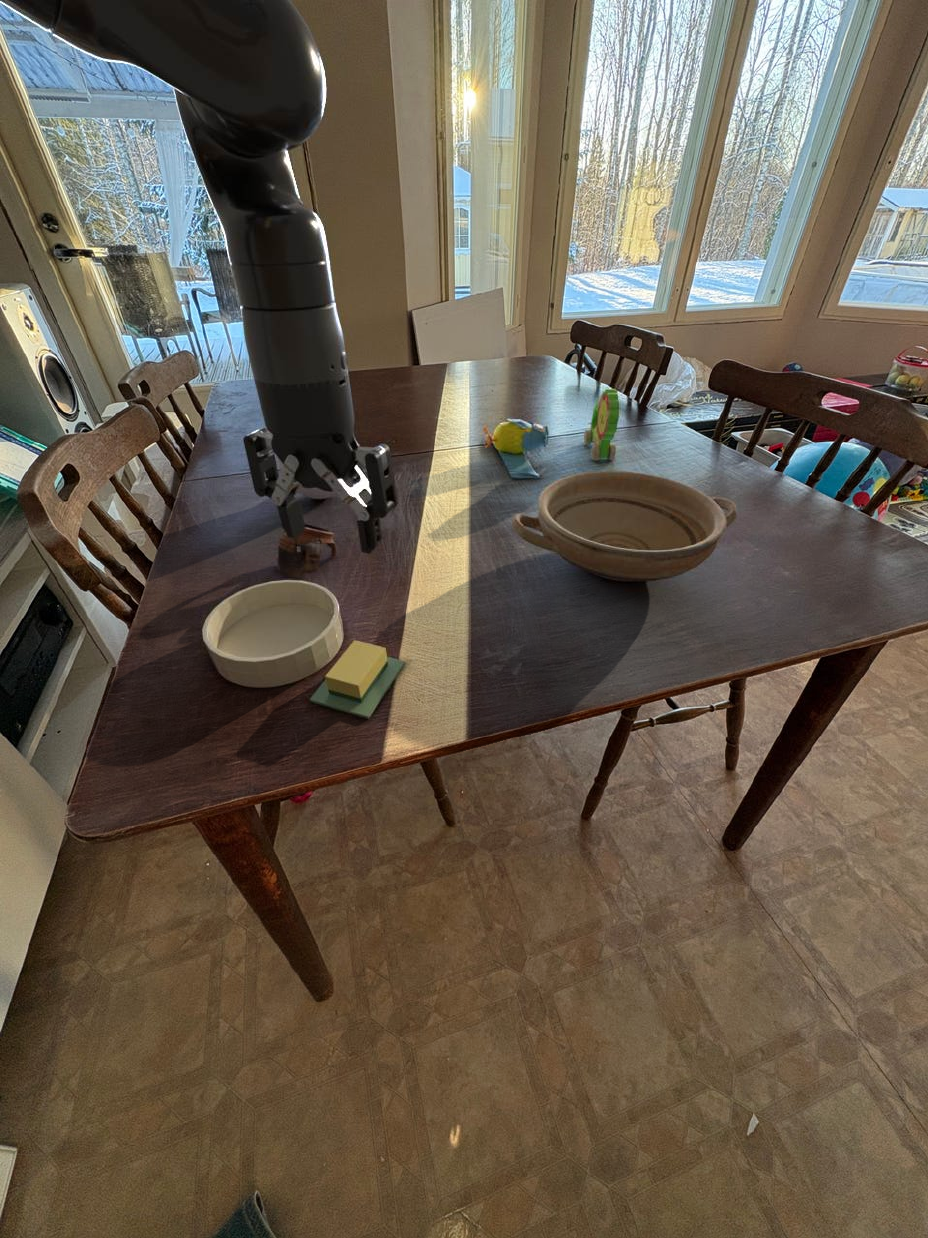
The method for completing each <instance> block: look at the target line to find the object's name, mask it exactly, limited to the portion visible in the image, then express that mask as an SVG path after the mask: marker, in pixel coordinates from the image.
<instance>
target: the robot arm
mask: <svg viewBox="0 0 928 1238" xmlns="http://www.w3.org/2000/svg"><path fill="white" fill-rule="evenodd" d="M0 3H1V4H3V5H4V6H6V7H7V8H9V9H11V10H12V11H13V12H15V13H17V14H19V15H21V16H22V17H23V18H25V19H27V20H28V21H30V22H31V23H33V24H35V25H37V26H38V27H39V28H42V30H44V31H46V32H50V33H51V34H52V36H54V37H56V38H58V39H59V40H61V41H63V42H64V43H66V44H68V45H70V46H71V47H73V48H75V49H77V50H78V51H79V50H80V51H81V52H83V53H85V54H87V55H90V56H91V57H94V58H97V59H99V60H101V61H105V62H111V63H112V62H113V63H123V64H128V65H131V66H134V67H136V68H139V69H141V70H143V71H145V72H147V73H148V74H150V75H152V76H153V77H155V78H157V79H158V80H160V81H162V82H163V83H165V84H166V85H168V86H170V87H172V89H173V94H174V98H175V103H176V107H177V110H178V115H179V118H180V122H181V125H182V127H183V130H184V134H185V136H186V140H187V142H188V145H189V148H190V150H191V153H192V154H191V155H192V156H193V159H194V162H195V164H196V166H197V167H196V168H197V169H198V172H199V174H200V177H201V179H202V183H203V185H204V188H205V191H206V193H207V195H208V199H209V200H210V203H211V205H212V208H213V210H214V212H215V214H216V216H217V218H218V221H219V224H220V226H221V230H222V233H223V235H224V240H225V246H226V251H227V257H228V261H229V264H230V269H231V273H232V277H233V281H234V286H235V289H236V295H237V298H238V302H239V306H240V313H241V319H242V327H243V337H244V342H245V347H246V352H247V355H248V359H249V364H250V368H251V371H252V377H253V380H254V384H255V388H256V393H257V397H258V401H259V405H260V410H261V414H262V418H263V421H264V426H265V427H261V428H258V429H257V430H255V431H252V432H251V433H249V434H247V435H245V436H244V437H243V440H242V441H243V446H244V449H245V454H246V458H247V463H248V467H249V472H250V476H251V480H252V486H253V490H254V492H255V494H256V495H257V496H258V497H261V498H263V497H267V498H269V499H270V500H271V501H272V503H273V504H274V505H276V507H277V512H278V516H279V518H280V523H281V527H282V529H283V530H284V531H283V532H286V533H287V536H288V538H293V539H297V538H298V537H299V536H300V535H302V534H303V533H304V532H305V524H306V523H305V519H304V515H303V511H302V507H301V501H300V498H299V497H295V496H296V495H297V493H299V492H298V490H299V488H300V486H301V484H302V487H304V488H319V489H321V490H323V491H328V492H332V491H334V492H335V495H336V497H337V498H338V499H339V500H340V501H341V502H342V503H343V504H348V506H349V507H350V508H351V509H352V511H353V512H354V513H355V515H356V516H357V517H358V519H357V520H356V522H357V523H356V524H357V531H358V536H359V542H360V543H359V544H360V549H361V553H363V554H367V555H371V554H372V553H373V552H374V550H376V549H377V548H378V546H379V545H380V544H381V543H382V540H383V535H382V526H381V519H385V518H386V517H387V516H388V515H389V513H391V511H392V510H393V509H395V508H396V507H397V506H398V503H399V499H398V494H397V487H396V481H395V474H394V466H393V461H392V460H393V459H392V454H391V449H390V447H389V446H388V445H387V444H386V443H379V444H378V445H377V446H374V447H369V446H360V444H359V443H358V441H357V440H356V437H355V433H354V432H355V431H354V430H355V429H354V428H355V412H354V404H353V397H352V391H351V390H352V389H351V384H350V382H351V381H350V376H349V367H348V357H347V354H346V345H345V338H344V333H343V329H342V326H341V322H340V321H341V320H340V318H339V313H338V308H337V303H336V302H335V301H336V295H335V289H334V281H333V273H332V267H331V261H330V253H329V249H328V248H329V247H328V241H327V236H326V233H325V230H324V225H323V223H322V221H321V219H320V217H319V215H318V214H317V213H316V212H314V210H312V209H311V208H310V207H309V206H307V205H306V204H304V203H303V201H302V199H301V198H300V195H299V191H298V188H297V184H296V180H295V177H294V172H293V169H292V164H291V161H290V156H289V153H288V152H289V151H292V150H294V149H297V148H298V147H300V146H302V145H303V144H304V143H305V142H307V141H308V140H309V139H310V138H311V137H312V136H313V135H314V134H315V132H316V131H317V129H318V127H319V125H320V123H321V120H322V118H323V116H324V112H325V105H326V100H327V99H326V98H327V86H326V85H327V84H326V75H325V74H326V73H325V69H324V65H323V60H322V57H321V54H320V51H319V49H318V46H317V43H316V41H315V38H314V36H313V35H312V31H311V30H310V28H309V27H308V24H307V22H306V21H305V19H304V18H303V16H302V15H301V13H300V12H299V10H298V9H297V8H296V6H295V5H294V3H293V2H292V1H291V0H0ZM276 455H277V457H278V458H279V459H280V461H281V462H282V463H283V464H284V467H283V469H282V471H281V470H280V473H279V471H278V470H279V469H278V466H277V465H278V463H277V457H276ZM358 463H360V465H361V466H362V470H361V469H360V468H359V466H358ZM365 474H367V477H366V475H365ZM349 480H350V481H351V482H352V483H351V484H352V486H351V487H350V486H349V485H347V484H346V483H347V482H348V481H349Z"/></svg>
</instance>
